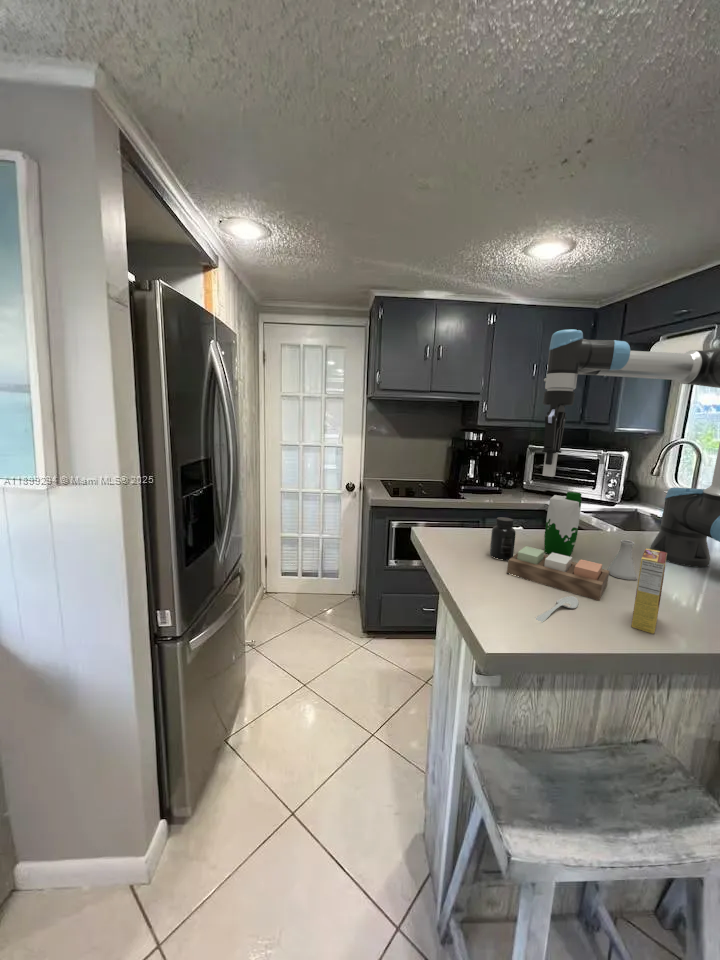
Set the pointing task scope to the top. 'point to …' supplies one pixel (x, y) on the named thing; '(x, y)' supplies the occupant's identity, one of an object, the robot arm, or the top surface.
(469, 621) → the top surface
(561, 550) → the milk carton
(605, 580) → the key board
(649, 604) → the candy box
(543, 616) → the spoon
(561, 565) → the white rectangular block
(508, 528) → the supplement bottle
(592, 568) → the terracotta key
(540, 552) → the sage key
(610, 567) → the flask
